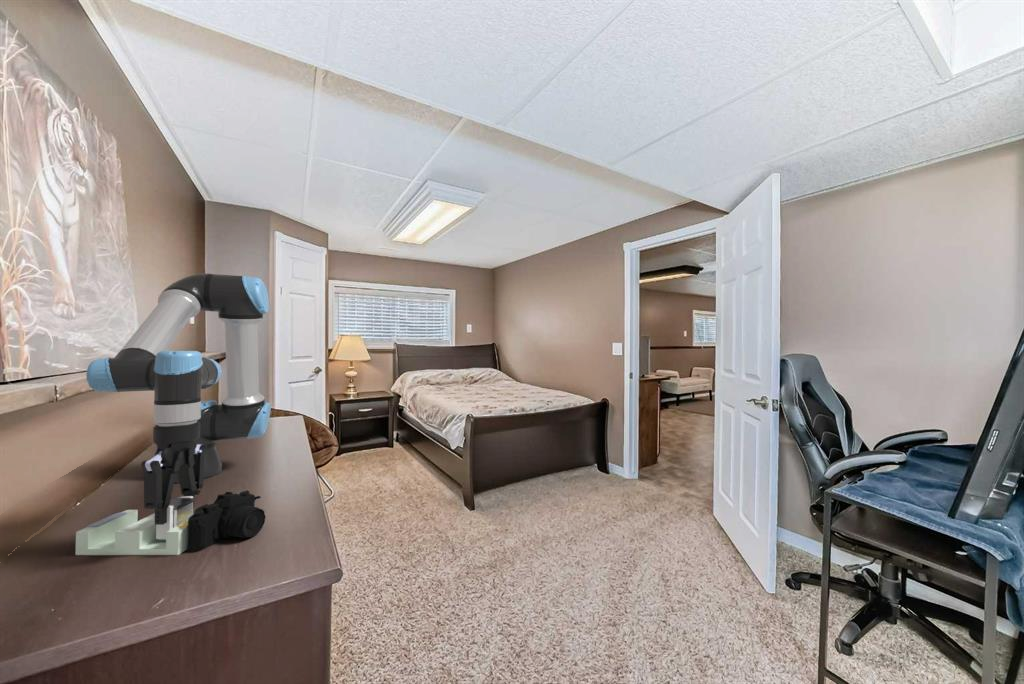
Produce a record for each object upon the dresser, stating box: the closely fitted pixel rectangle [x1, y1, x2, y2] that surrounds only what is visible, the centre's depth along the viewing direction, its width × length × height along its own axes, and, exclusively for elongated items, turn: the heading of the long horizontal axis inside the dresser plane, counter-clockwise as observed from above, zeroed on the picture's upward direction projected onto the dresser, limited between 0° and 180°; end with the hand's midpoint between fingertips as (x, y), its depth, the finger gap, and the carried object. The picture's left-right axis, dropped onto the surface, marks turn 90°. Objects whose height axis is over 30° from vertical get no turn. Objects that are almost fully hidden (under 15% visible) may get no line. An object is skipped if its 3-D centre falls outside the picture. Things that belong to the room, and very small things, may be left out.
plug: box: [157, 497, 195, 540], centre depth 79 cm, size 4×4×7 cm
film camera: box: [186, 489, 266, 553], centre depth 82 cm, size 15×10×9 cm, turn 168°
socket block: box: [75, 509, 188, 556], centre depth 79 cm, size 10×20×5 cm, turn 91°
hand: (174, 531), depth 79 cm, fingers open, 4 cm apart
